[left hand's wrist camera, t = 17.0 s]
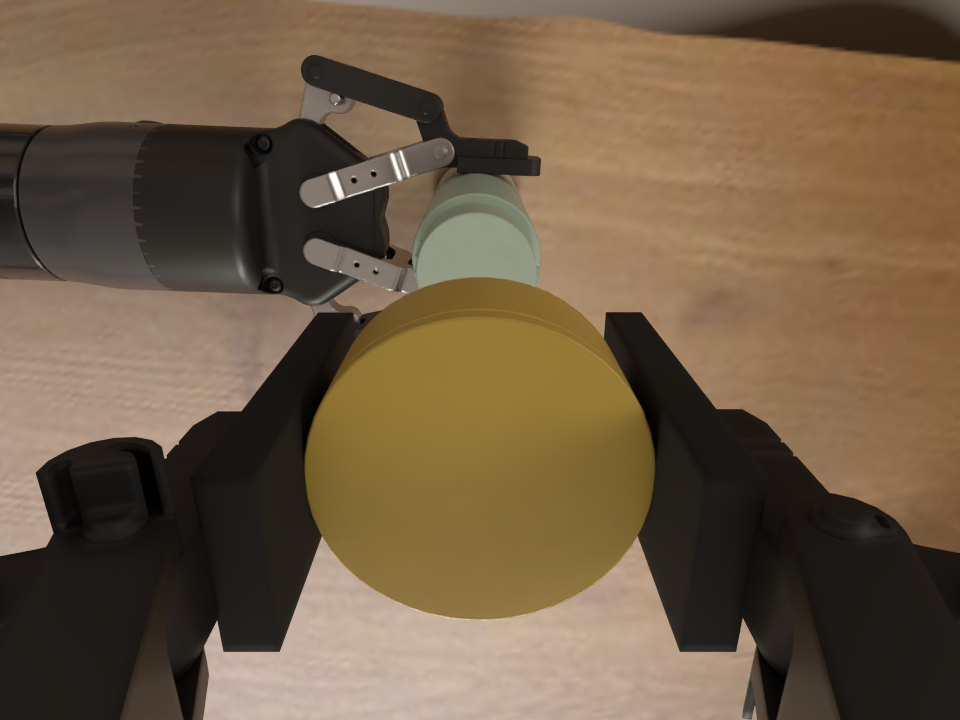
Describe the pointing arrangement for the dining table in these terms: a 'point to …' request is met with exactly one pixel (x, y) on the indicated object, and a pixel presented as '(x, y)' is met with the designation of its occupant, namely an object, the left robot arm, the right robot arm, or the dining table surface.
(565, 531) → the lid
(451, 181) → the jar
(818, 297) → the dining table surface
